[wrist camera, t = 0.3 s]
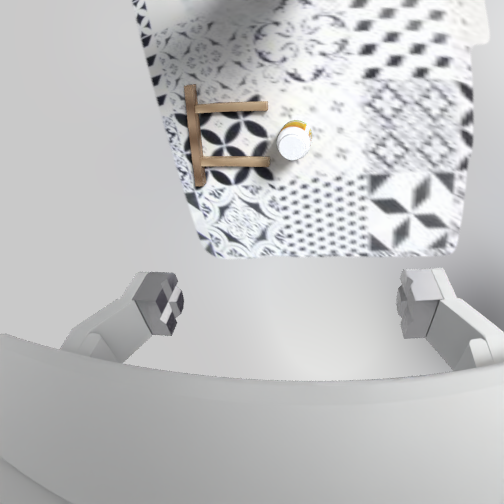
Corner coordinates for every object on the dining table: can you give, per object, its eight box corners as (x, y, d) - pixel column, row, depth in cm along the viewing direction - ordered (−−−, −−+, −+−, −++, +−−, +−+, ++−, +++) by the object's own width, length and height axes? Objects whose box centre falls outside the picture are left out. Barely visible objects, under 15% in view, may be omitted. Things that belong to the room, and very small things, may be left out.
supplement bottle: (275, 131, 53) (266, 144, 45) (299, 113, 50) (294, 123, 42) (294, 153, 54) (288, 171, 47) (318, 137, 52) (317, 152, 44)
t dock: (188, 85, 50) (184, 86, 49) (266, 79, 48) (264, 80, 46) (199, 182, 62) (195, 186, 60) (270, 184, 59) (268, 188, 57)
